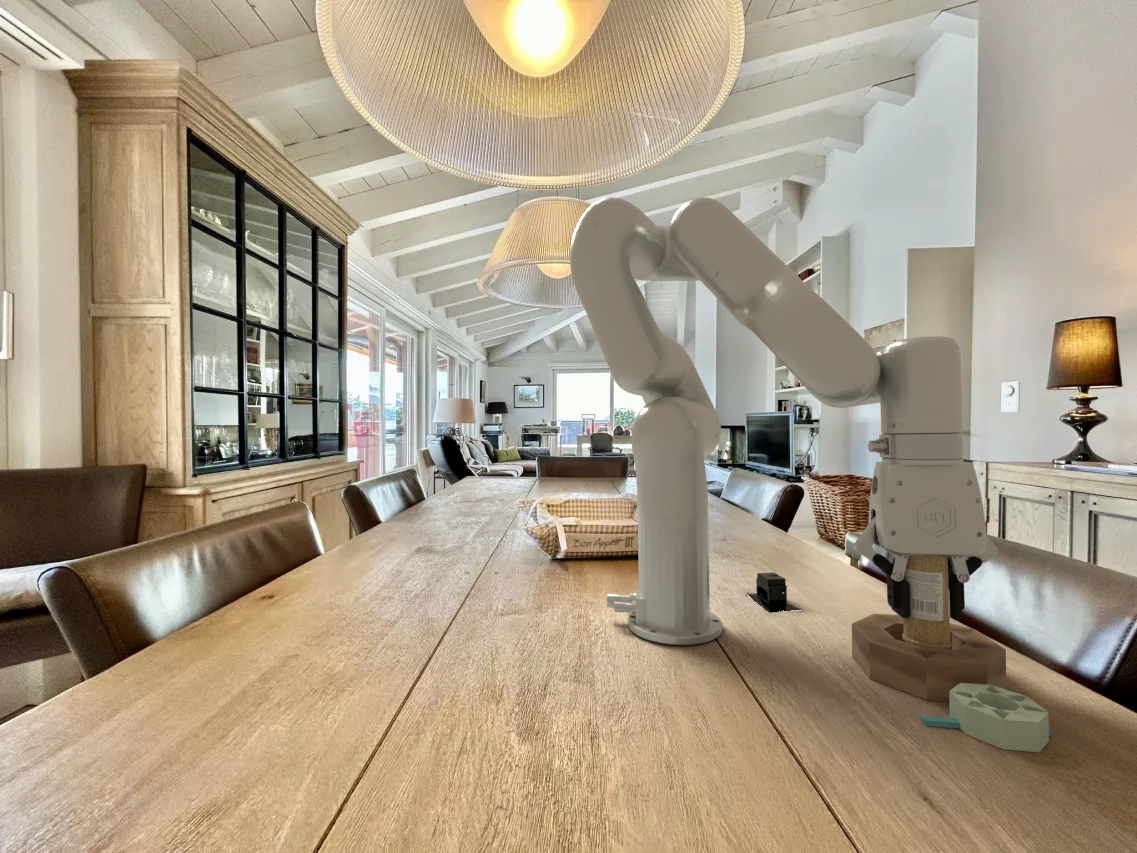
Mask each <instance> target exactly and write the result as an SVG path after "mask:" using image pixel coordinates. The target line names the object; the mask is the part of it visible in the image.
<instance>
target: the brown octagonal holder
mask: <svg viewBox="0 0 1137 853" xmlns="http://www.w3.org/2000/svg"><path fill="white" fill-rule="evenodd" d="M903 633H904V622H903V618H902V617H901V616H900V615H898V614H888V613H886V614H884V613H872V614H870V615H868V616H866V617H863V618H861V619H859V620H857V621H855V622H853V623H851V658H853V660H854V662H856V663H857V666H859V667H860V669H861V670H862V671H863V672H864V674H865V675H866V676H867V677H868V678H869V680H872V681H875V682H877V683H880V684H883V685H886V686H888V687H891V688H894V689H896V690H898V691H900V692H901V691H902V692H905V693H907V694H910V695H913V696H916V697H918V698H920V699H923V700H926V701H937V702H947V703H948V702H949V691H950V690H951V689H953V688H954V687H955V686H957V685H958V684H960V683H970V684H985V685H993V686H996V687H999V688H1003V689H1006V690H1007V649H1006V648H1005V647H1004V646H1003V647H1002V646H1001V645H999V644H998V643H997V642H995V641H993V640H992V639H990V638H989V637H988V636H986V635H985V634H983V633H982V632H980V631H978V630H977V629H974V628H971V627H966V626H962V625H959V624H954V623H951V622H950V641H951V642H952V645H951V648H950V649H935V648H923V647H920V646H917V645H913V644H910V643H907V642H906V641H905V640H903Z"/></svg>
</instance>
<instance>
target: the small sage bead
mask: <svg viewBox="0 0 1137 853" xmlns="http://www.w3.org/2000/svg"><path fill="white" fill-rule="evenodd" d="M1049 712H1050V711H1048V710H1047V709H1045V708H1044V707H1043V706H1041V705H1039V704H1038V703H1037V702H1036V701H1035V700H1033V699H1032V698H1031V697H1029V696H1027V695H1024V694H1021V693H1018V692H1015V691H1012V690H1008V689H1007V688H1006V689H1003V688H999V687H996V686H993V685H985V684H970V683H960V684H958V685H957V686H955V687H954V688H953V689H951V690H950V691H949V718H956V719H957V720H958V721H959V722H960V728H959V729H960V730H961V731H962V732H963V733H964V734H965V735H966V736H969V737H972V738H974V739H977V740H978V741H979V740H980V741H981V742H983V743H986V744H989V745H992V746H995V747H997V748H999V749H1002V750H1006V751H1019V752H1020V751H1022V752H1031V753H1040V752H1042V750H1043V749H1044V748H1045V747H1046V745H1047V744H1048V743H1049V742H1050V736H1049V728H1050V723H1049V722H1050V720H1049V719H1050V717H1049V715H1050V714H1049Z"/></svg>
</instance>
